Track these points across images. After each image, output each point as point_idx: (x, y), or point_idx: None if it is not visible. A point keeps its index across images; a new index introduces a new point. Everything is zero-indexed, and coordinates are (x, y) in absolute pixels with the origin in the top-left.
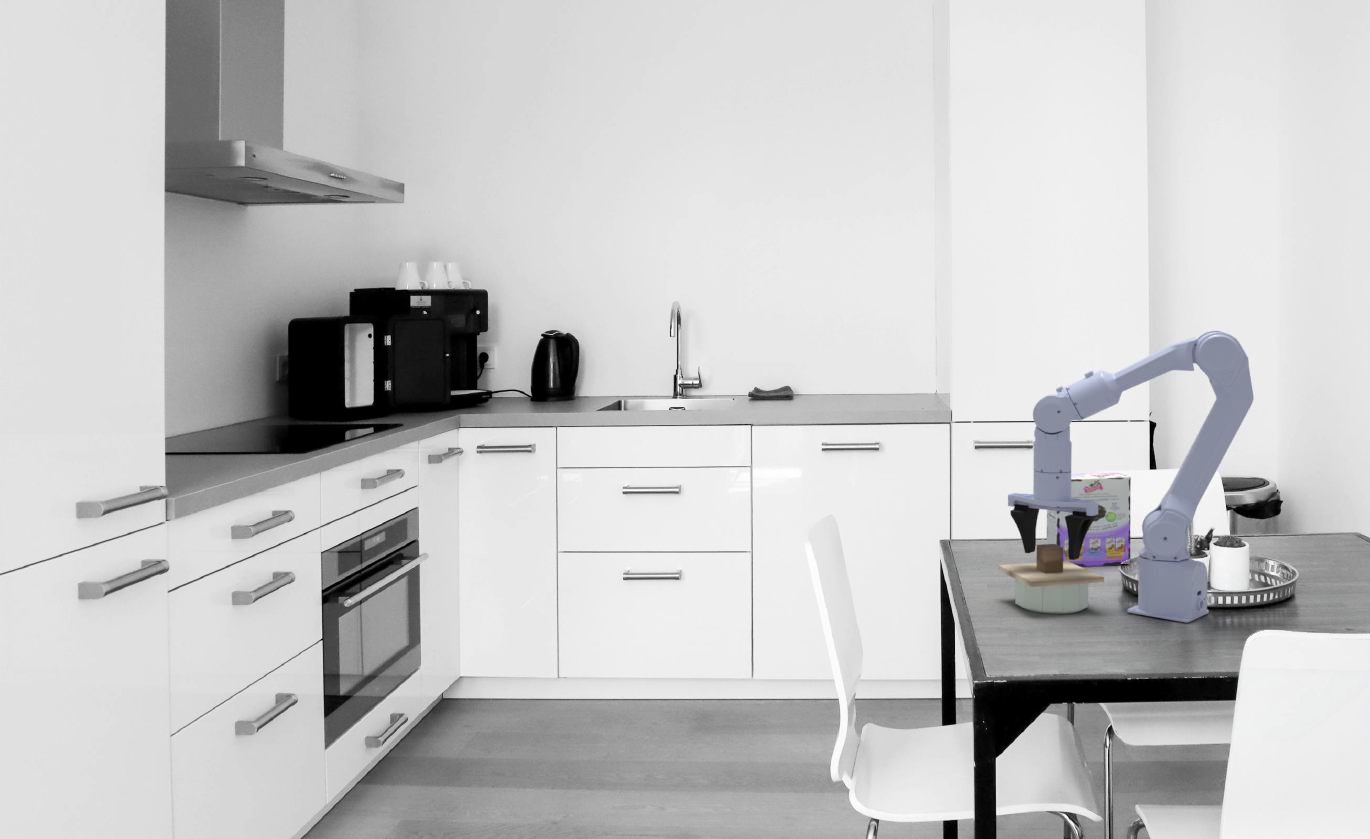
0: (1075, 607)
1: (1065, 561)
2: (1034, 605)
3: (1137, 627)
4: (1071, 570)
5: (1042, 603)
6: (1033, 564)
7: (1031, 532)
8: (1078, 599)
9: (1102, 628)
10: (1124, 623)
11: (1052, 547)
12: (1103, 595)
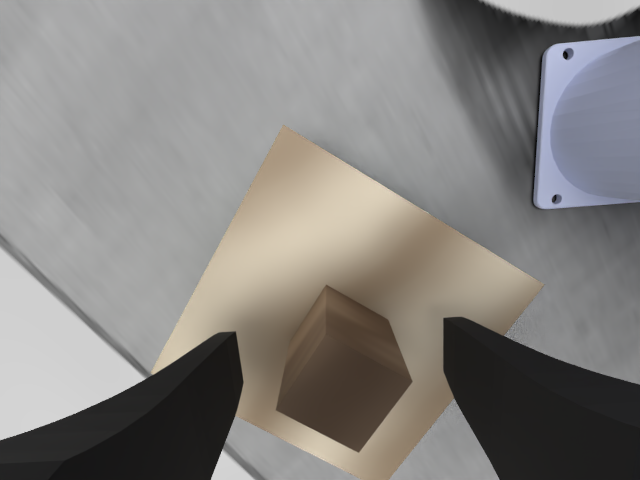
0: None
1: (284, 137)
2: None
3: (604, 309)
4: (395, 271)
5: None
6: (229, 279)
7: (199, 421)
8: None
9: None
10: (564, 298)
11: (371, 415)
12: (381, 56)
